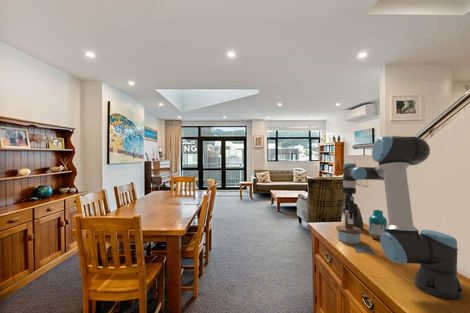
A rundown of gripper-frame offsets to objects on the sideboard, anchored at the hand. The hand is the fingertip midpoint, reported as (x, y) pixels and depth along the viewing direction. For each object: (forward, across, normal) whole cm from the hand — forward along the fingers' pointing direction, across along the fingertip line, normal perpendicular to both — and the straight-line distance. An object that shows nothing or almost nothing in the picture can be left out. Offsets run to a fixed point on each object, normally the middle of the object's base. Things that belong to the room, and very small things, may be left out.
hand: (348, 221), depth 157 cm
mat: (+13, -14, -5) cm, 19 cm away
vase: (+13, +10, -20) cm, 26 cm away
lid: (+6, 0, 0) cm, 6 cm away
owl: (+13, +33, -12) cm, 37 cm away
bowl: (+13, 0, 0) cm, 13 cm away
